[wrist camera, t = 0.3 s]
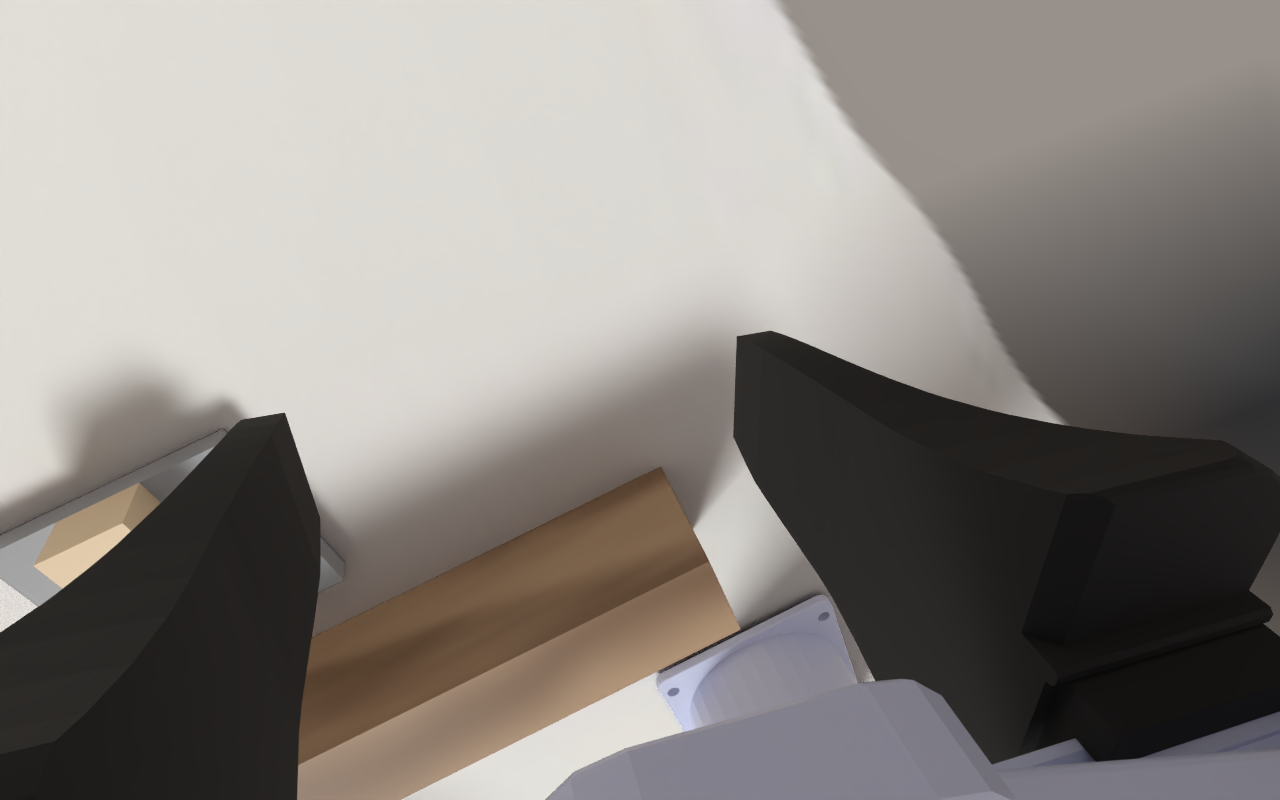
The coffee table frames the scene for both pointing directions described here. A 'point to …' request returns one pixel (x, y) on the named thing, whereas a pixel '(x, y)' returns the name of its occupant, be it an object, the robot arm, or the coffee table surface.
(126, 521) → the fulcrum
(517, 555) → the batten
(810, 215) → the coffee table surface
